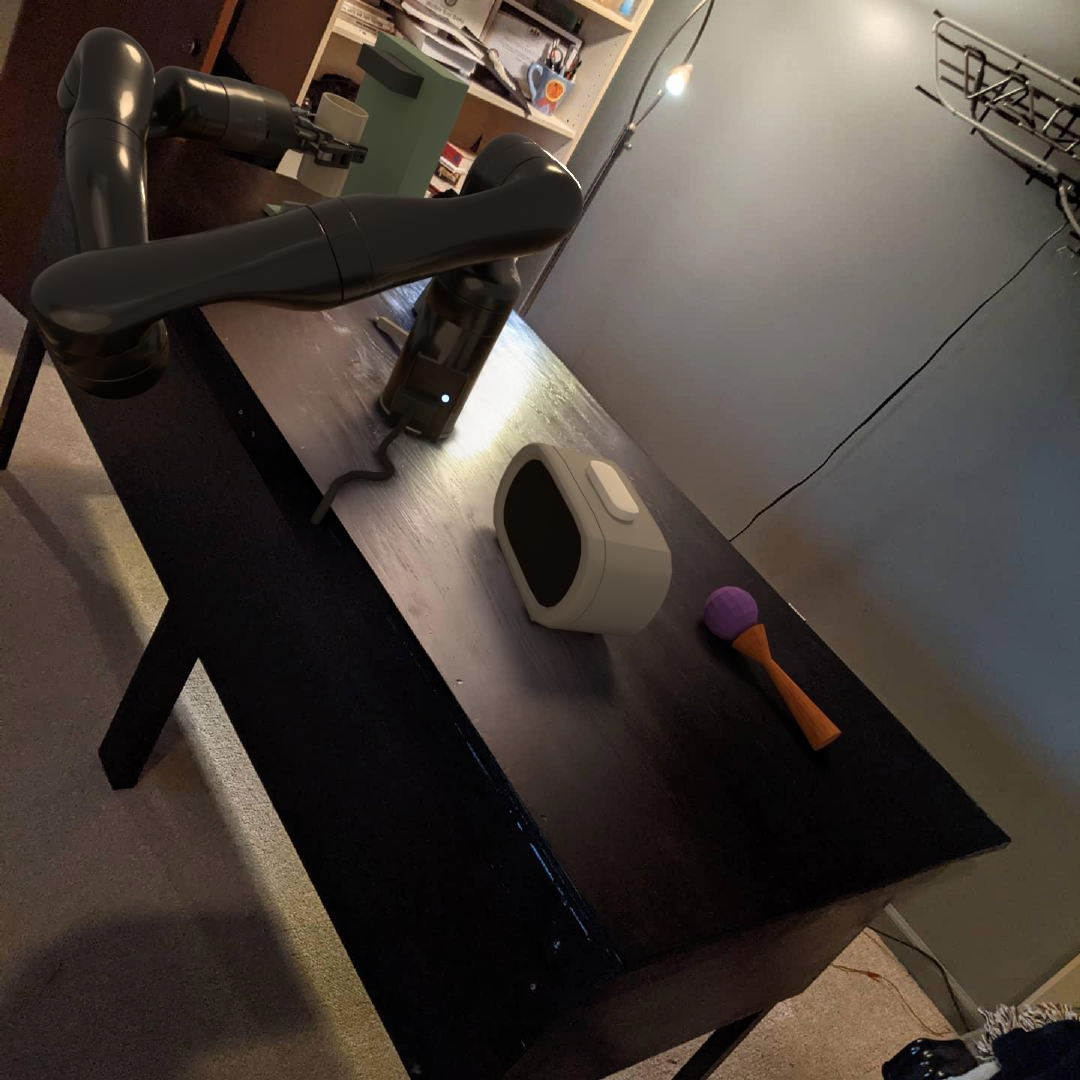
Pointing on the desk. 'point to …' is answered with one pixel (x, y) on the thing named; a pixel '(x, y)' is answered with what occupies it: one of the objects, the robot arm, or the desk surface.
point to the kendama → (764, 657)
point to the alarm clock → (580, 542)
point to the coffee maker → (399, 120)
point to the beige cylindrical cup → (344, 125)
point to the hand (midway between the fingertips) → (348, 142)
